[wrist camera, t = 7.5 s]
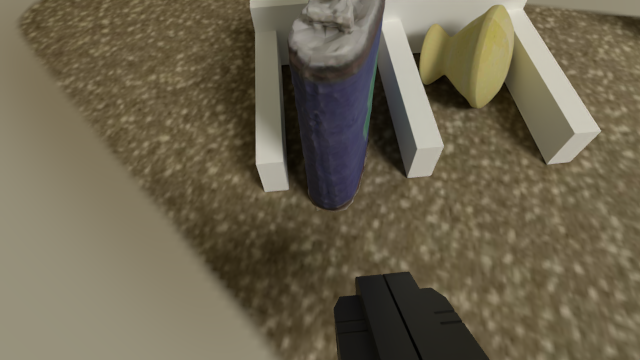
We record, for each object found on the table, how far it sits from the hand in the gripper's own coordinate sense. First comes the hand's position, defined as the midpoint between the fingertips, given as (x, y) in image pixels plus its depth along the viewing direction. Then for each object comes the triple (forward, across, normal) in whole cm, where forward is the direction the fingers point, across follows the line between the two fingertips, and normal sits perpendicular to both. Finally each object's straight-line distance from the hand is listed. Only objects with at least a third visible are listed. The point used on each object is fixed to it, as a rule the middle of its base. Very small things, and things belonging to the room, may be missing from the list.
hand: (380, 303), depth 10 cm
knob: (+13, -7, -6) cm, 16 cm away
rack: (+12, -4, -5) cm, 14 cm away
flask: (+11, 0, -3) cm, 11 cm away
